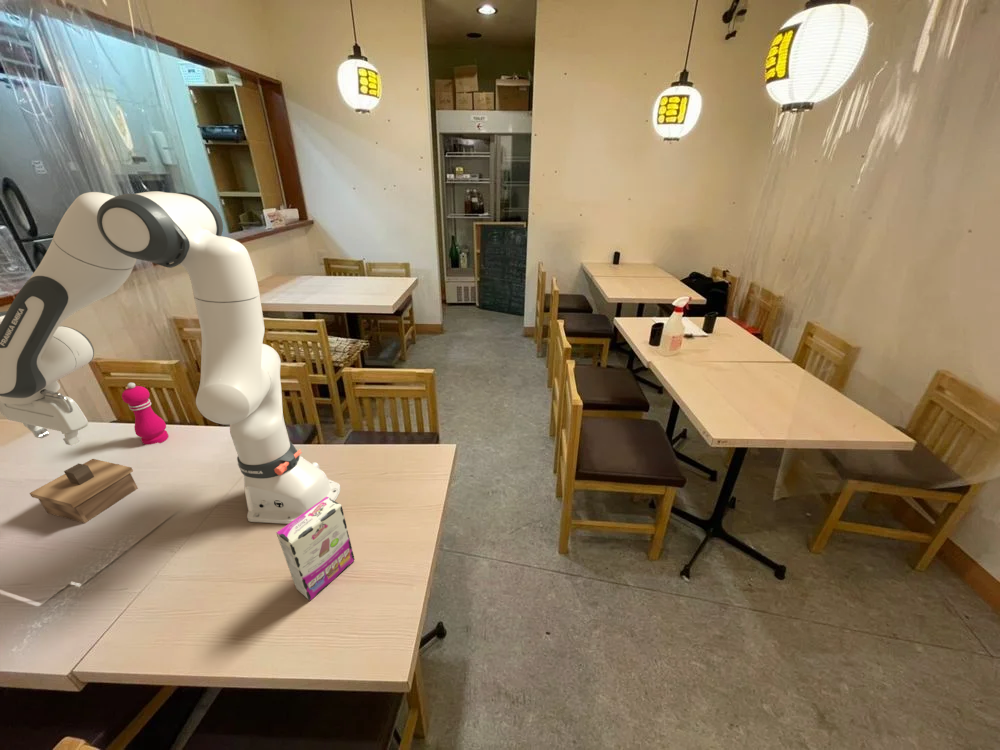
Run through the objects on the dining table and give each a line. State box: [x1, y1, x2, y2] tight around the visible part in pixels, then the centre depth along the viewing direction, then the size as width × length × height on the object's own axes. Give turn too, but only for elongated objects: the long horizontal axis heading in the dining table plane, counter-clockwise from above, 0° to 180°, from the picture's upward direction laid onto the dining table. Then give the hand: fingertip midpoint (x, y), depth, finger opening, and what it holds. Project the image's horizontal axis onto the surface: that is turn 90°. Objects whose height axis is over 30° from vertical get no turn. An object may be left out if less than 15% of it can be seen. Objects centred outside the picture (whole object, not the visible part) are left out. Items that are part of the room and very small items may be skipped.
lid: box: [29, 458, 134, 508], centre depth 96 cm, size 13×13×5 cm
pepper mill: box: [121, 382, 169, 446], centre depth 118 cm, size 7×7×20 cm
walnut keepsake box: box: [38, 473, 139, 524], centre depth 98 cm, size 12×12×6 cm
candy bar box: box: [275, 496, 356, 601], centre depth 79 cm, size 11×5×16 cm, turn 148°
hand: (58, 440), depth 91 cm, fingers open, 8 cm apart
